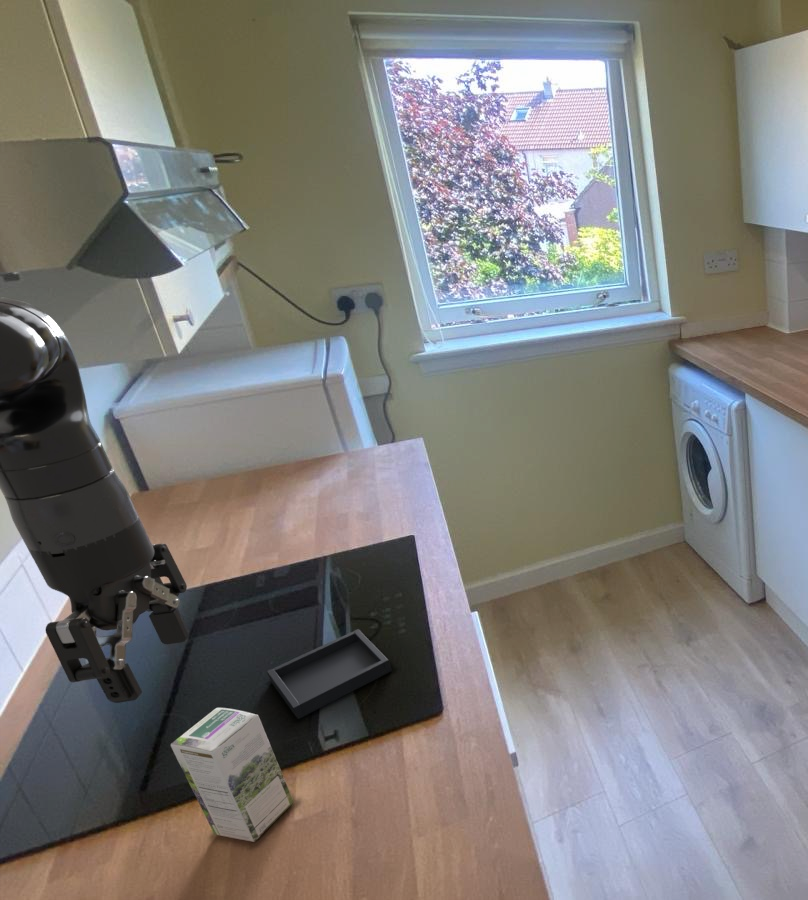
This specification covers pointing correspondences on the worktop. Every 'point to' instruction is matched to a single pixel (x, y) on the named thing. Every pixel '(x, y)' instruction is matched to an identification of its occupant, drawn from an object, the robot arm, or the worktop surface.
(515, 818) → the worktop surface
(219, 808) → the syrup box
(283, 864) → the worktop surface
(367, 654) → the tray
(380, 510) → the worktop surface
